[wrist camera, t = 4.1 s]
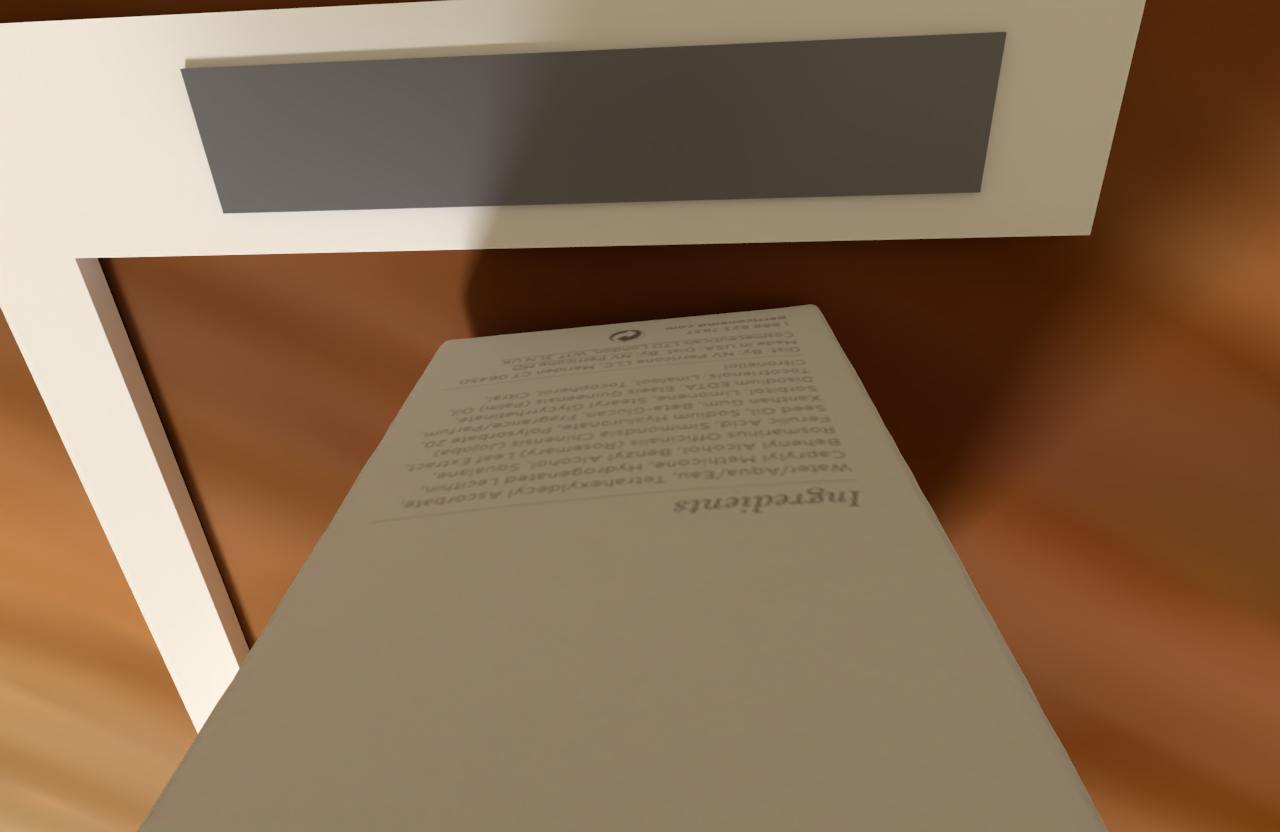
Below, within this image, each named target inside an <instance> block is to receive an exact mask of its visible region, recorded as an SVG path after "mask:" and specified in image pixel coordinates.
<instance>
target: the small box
mask: <svg viewBox="0 0 1280 832" xmlns="http://www.w3.org/2000/svg"><path fill="white" fill-rule="evenodd" d="M137 832H1109V831H1108V829H1107V827H1106V825H1105V824H1104V822H1103V820H1102V818H1101V816H1100V815H1099V813H1098V811H1097V809H1096V807H1095V805H1094V803H1093V802H1092V800H1091V798H1090V796H1089V794H1088V792H1087V790H1086V788H1085V786H1084V784H1083V783H1082V781H1081V779H1080V777H1079V775H1078V773H1077V771H1076V769H1075V767H1074V766H1073V764H1072V762H1071V760H1070V758H1069V756H1068V754H1067V752H1066V750H1065V749H1064V747H1063V745H1062V743H1061V742H1060V740H1059V738H1058V737H1057V735H1056V733H1055V731H1054V730H1053V728H1052V726H1051V725H1050V723H1049V721H1048V719H1047V718H1046V716H1045V714H1044V713H1043V711H1042V709H1041V707H1040V705H1039V703H1038V701H1037V699H1036V697H1035V695H1034V693H1033V691H1032V689H1031V687H1030V685H1029V683H1028V681H1027V679H1026V677H1025V676H1024V674H1023V672H1022V670H1021V669H1020V667H1019V665H1018V663H1017V662H1016V660H1015V658H1014V656H1013V655H1012V653H1011V651H1010V649H1009V647H1008V646H1007V644H1006V642H1005V640H1004V638H1003V637H1002V635H1001V633H1000V631H999V629H998V627H997V626H996V624H995V622H994V620H993V618H992V616H991V615H990V613H989V611H988V609H987V608H986V606H985V604H984V603H983V601H982V599H981V597H980V596H979V594H978V592H977V590H976V589H975V587H974V585H973V583H972V581H971V579H970V577H969V575H968V573H967V571H966V569H965V567H964V565H963V563H962V562H961V560H960V558H959V556H958V554H957V553H956V551H955V549H954V547H953V546H952V544H951V542H950V540H949V538H948V537H947V535H946V533H945V531H944V529H943V527H942V526H941V524H940V522H939V520H938V518H937V516H936V514H935V513H934V511H933V509H932V507H931V506H930V504H929V502H928V501H927V499H926V498H925V496H924V494H923V493H922V491H921V489H920V487H919V485H918V483H917V481H916V479H915V477H914V475H913V473H912V471H911V470H910V468H909V466H908V465H907V463H906V462H905V460H904V458H903V457H902V455H901V453H900V452H899V450H898V448H897V446H896V444H895V442H894V440H893V438H892V436H891V435H890V433H889V431H888V430H887V428H886V427H885V425H884V423H883V421H882V419H881V417H880V415H879V413H878V411H877V409H876V407H875V405H874V404H873V402H872V400H871V399H870V397H869V395H868V393H867V391H866V389H865V388H864V386H863V384H862V382H861V380H860V378H859V377H858V375H857V373H856V371H855V369H854V368H853V366H852V365H851V363H850V361H849V360H848V358H847V357H846V355H845V353H844V351H843V350H842V348H841V346H840V344H839V343H838V341H837V339H836V337H835V335H834V334H833V332H832V330H831V328H830V326H829V325H828V323H827V321H826V319H825V317H824V316H823V314H822V312H821V311H820V309H819V308H818V307H817V306H816V305H812V304H809V305H802V306H793V307H785V308H776V309H766V310H755V311H745V312H734V313H724V314H713V315H703V316H692V317H681V318H671V319H660V320H650V321H640V322H629V323H619V324H608V325H598V326H587V327H578V328H568V329H558V330H548V331H538V332H527V333H516V334H506V335H496V336H486V337H477V338H467V339H455V340H448V341H445V342H444V343H443V344H442V345H441V346H440V347H439V349H438V350H437V352H436V353H435V355H434V357H433V358H432V360H431V362H430V363H429V365H428V366H427V368H426V370H425V371H424V373H423V375H422V376H421V378H420V379H419V381H418V382H417V384H416V386H415V387H414V389H413V390H412V392H411V393H410V395H409V396H408V398H407V399H406V401H405V403H404V404H403V406H402V408H401V409H400V411H399V413H398V414H397V416H396V417H395V419H394V420H393V422H392V423H391V425H390V427H389V428H388V430H387V432H386V434H385V436H384V438H383V439H382V441H381V442H380V444H379V445H378V447H377V449H376V450H375V451H374V453H373V454H372V456H371V457H370V458H369V460H368V461H367V463H366V464H365V466H364V468H363V469H362V471H361V472H360V474H359V476H358V478H357V479H356V481H355V483H354V485H353V486H352V488H351V490H350V491H349V493H348V495H347V496H346V498H345V499H344V501H343V503H342V504H341V506H340V508H339V509H338V511H337V513H336V514H335V516H334V518H333V519H332V521H331V523H330V524H329V526H328V528H327V529H326V530H325V532H324V533H323V535H322V536H321V538H320V539H319V541H318V542H317V544H316V546H315V548H314V549H313V551H312V553H311V555H310V556H309V558H308V559H307V561H306V562H305V564H304V565H303V567H302V568H301V570H300V571H299V573H298V575H297V576H296V578H295V580H294V581H293V583H292V584H291V586H290V587H289V589H288V591H287V592H286V594H285V595H284V597H283V598H282V600H281V601H280V603H279V605H278V606H277V608H276V609H275V611H274V613H273V614H272V616H271V618H270V619H269V621H268V623H267V625H266V626H265V628H264V630H263V632H262V633H261V635H260V636H259V638H258V639H257V641H256V642H255V644H254V645H253V647H252V649H251V650H250V652H249V653H248V655H247V656H246V658H245V660H244V662H243V663H242V665H241V667H240V669H239V670H238V672H237V674H236V676H235V677H234V679H233V681H232V682H231V683H230V685H229V686H228V688H227V689H226V691H225V692H224V694H223V695H222V697H221V698H220V700H219V701H218V702H217V704H216V706H215V707H214V709H213V711H212V712H211V714H210V715H209V717H208V719H207V720H206V722H205V724H204V725H203V727H202V728H201V730H200V732H199V733H198V735H197V737H196V738H195V740H194V741H193V743H192V745H191V746H190V748H189V750H188V751H187V753H186V754H185V756H184V758H183V759H182V761H181V763H180V764H179V766H178V767H177V769H176V771H175V772H174V774H173V775H172V777H171V779H170V780H169V782H168V783H167V785H166V786H165V788H164V790H163V791H162V793H161V794H160V796H159V798H158V799H157V801H156V802H155V804H154V806H153V807H152V809H151V810H150V812H149V813H148V815H147V817H146V818H145V820H144V821H143V823H142V825H141V826H140V828H139V829H138V831H137Z"/></svg>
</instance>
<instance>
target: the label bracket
mask: <svg viewBox="0 0 1280 832" xmlns="http://www.w3.org/2000/svg"><path fill="white" fill-rule="evenodd" d="M1145 2H1146V0H447V1H428V2H408V3H389V4H369V5H350V6H330V7H311V8H291V9H271V10H252V11H232V12H213V13H193V14H174V15H154V16H135V17H115V18H96V19H76V20H56V21H37V22H17V23H0V307H1V309H2V312H3V314H4V316H5V318H6V320H7V322H8V324H9V327H10V329H11V331H12V333H13V335H14V337H15V340H16V342H17V344H18V346H19V348H20V350H21V353H22V355H23V357H24V359H25V361H26V363H27V366H28V368H29V370H30V372H31V374H32V376H33V378H34V381H35V383H36V385H37V387H38V389H39V391H40V394H41V396H42V398H43V400H44V402H45V404H46V407H47V409H48V411H49V413H50V415H51V417H52V420H53V422H54V424H55V426H56V428H57V430H58V433H59V435H60V437H61V439H62V441H63V443H64V445H65V448H66V450H67V452H68V454H69V456H70V458H71V461H72V463H73V465H74V467H75V469H76V471H77V474H78V476H79V478H80V480H81V482H82V484H83V487H84V489H85V491H86V493H87V495H88V497H89V499H90V502H91V504H92V506H93V508H94V510H95V512H96V515H97V517H98V519H99V521H100V523H101V525H102V528H103V530H104V532H105V534H106V536H107V538H108V541H109V543H110V545H111V547H112V549H113V551H114V553H115V556H116V558H117V560H118V562H119V564H120V566H121V569H122V571H123V573H124V575H125V577H126V579H127V582H128V584H129V586H130V588H131V590H132V592H133V595H134V597H135V599H136V601H137V603H138V605H139V608H140V610H141V612H142V614H143V616H144V618H145V620H146V623H147V625H148V627H149V629H150V631H151V633H152V636H153V638H154V640H155V642H156V644H157V646H158V649H159V651H160V653H161V655H162V657H163V659H164V662H165V664H166V666H167V668H168V670H169V672H170V674H171V677H172V679H173V681H174V683H175V685H176V687H177V690H178V692H179V694H180V696H181V698H182V700H183V703H184V705H185V707H186V709H187V711H188V713H189V716H190V718H191V720H192V722H193V724H194V726H195V728H196V731H197V733H199V732H200V730H201V728H202V727H203V725H204V724H205V722H206V720H207V719H208V717H209V715H210V714H211V712H212V711H213V709H214V707H215V706H216V704H217V702H218V701H219V700H220V698H221V697H222V695H223V694H224V692H225V691H226V689H227V688H228V686H229V685H230V683H231V682H232V681H233V679H234V677H235V676H236V674H237V672H238V670H239V669H240V667H241V665H242V663H243V662H244V660H245V658H246V656H247V655H248V653H249V652H250V651H249V648H248V646H247V643H246V641H245V638H244V635H243V633H242V630H241V628H240V625H239V622H238V620H237V617H236V615H235V612H234V610H233V607H232V604H231V602H230V599H229V597H228V594H227V591H226V589H225V586H224V584H223V581H222V579H221V576H220V573H219V571H218V568H217V566H216V563H215V560H214V558H213V555H212V553H211V550H210V548H209V545H208V542H207V540H206V537H205V535H204V532H203V529H202V527H201V524H200V522H199V519H198V517H197V514H196V511H195V509H194V506H193V504H192V501H191V498H190V496H189V493H188V491H187V488H186V486H185V483H184V480H183V478H182V475H181V473H180V470H179V467H178V465H177V462H176V460H175V457H174V454H173V452H172V449H171V447H170V444H169V442H168V439H167V436H166V434H165V431H164V429H163V426H162V423H161V421H160V418H159V416H158V413H157V411H156V408H155V405H154V403H153V400H152V398H151V395H150V392H149V390H148V387H147V385H146V382H145V380H144V377H143V374H142V372H141V369H140V367H139V364H138V361H137V359H136V356H135V354H134V351H133V349H132V346H131V343H130V341H129V338H128V336H127V333H126V330H125V328H124V325H123V323H122V320H121V318H120V315H119V312H118V310H117V307H116V305H115V302H114V299H113V297H112V294H111V292H110V289H109V287H108V284H107V281H106V279H105V276H104V274H103V271H102V268H101V266H100V263H99V261H98V258H116V257H159V256H203V255H246V254H289V253H333V252H376V251H419V250H463V249H506V248H549V247H593V246H636V245H679V244H723V243H766V242H809V241H853V240H896V239H939V238H983V237H1026V236H1069V235H1090V233H1091V229H1092V225H1093V221H1094V217H1095V212H1096V208H1097V204H1098V200H1099V196H1100V191H1101V187H1102V183H1103V179H1104V175H1105V170H1106V166H1107V162H1108V158H1109V154H1110V149H1111V145H1112V141H1113V137H1114V133H1115V128H1116V124H1117V120H1118V116H1119V112H1120V107H1121V103H1122V99H1123V95H1124V91H1125V86H1126V82H1127V78H1128V74H1129V70H1130V65H1131V61H1132V57H1133V53H1134V49H1135V44H1136V40H1137V36H1138V32H1139V28H1140V23H1141V19H1142V15H1143V11H1144V7H1145Z"/></svg>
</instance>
